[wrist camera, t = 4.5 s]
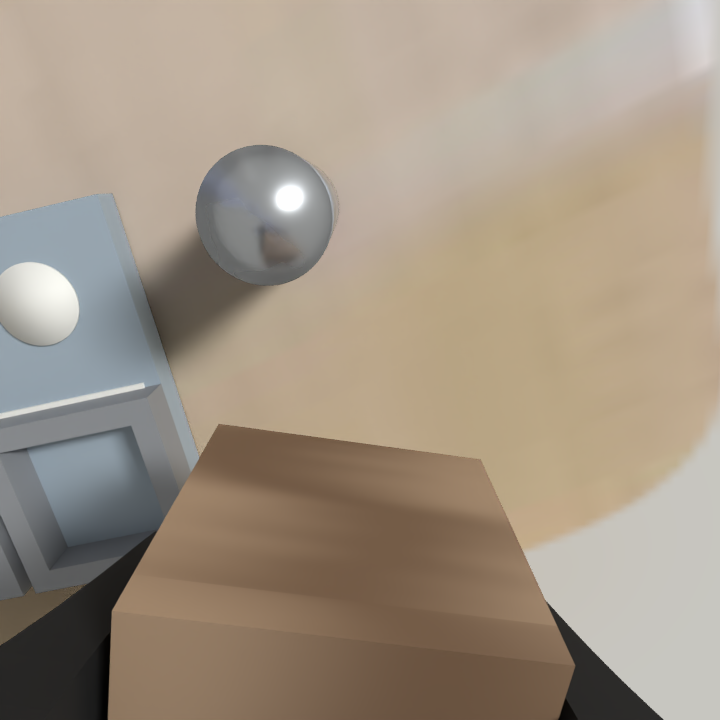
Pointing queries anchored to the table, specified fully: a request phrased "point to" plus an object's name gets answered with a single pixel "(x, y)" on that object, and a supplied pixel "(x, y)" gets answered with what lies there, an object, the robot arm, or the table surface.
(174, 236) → the table surface
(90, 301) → the board
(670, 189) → the table surface
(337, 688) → the wooden toy block
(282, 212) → the pin
